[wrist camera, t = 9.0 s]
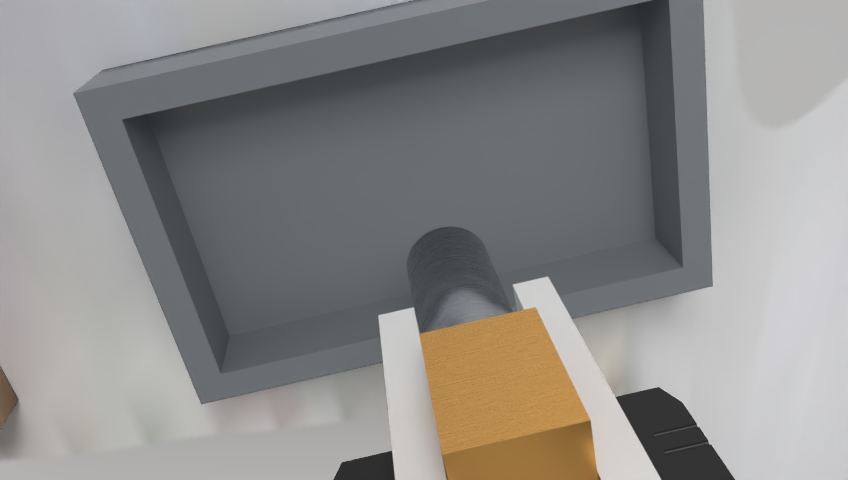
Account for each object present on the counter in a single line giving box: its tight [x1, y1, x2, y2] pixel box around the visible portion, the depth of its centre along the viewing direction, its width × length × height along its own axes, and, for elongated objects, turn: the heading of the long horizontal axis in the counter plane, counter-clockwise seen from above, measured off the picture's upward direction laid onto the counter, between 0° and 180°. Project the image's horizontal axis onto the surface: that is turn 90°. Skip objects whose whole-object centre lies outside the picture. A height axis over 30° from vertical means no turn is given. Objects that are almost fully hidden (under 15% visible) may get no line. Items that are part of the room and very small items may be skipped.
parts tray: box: [73, 0, 713, 404], centre depth 25 cm, size 11×18×3 cm, turn 101°
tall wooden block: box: [407, 226, 598, 480], centre depth 15 cm, size 5×2×10 cm, turn 11°
